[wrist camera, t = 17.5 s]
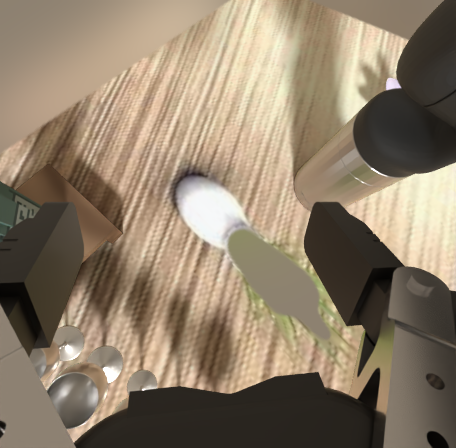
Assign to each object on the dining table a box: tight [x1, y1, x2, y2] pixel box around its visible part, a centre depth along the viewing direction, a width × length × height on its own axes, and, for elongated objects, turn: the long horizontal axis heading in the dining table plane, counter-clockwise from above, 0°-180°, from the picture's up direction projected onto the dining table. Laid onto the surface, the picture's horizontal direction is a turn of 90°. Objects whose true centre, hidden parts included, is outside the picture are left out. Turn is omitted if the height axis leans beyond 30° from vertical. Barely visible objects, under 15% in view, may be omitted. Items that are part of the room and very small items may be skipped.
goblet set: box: [29, 326, 157, 429], centre depth 34 cm, size 28×6×13 cm, turn 60°
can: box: [0, 181, 41, 242], centre depth 30 cm, size 6×6×15 cm
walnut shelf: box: [16, 164, 123, 263], centre depth 40 cm, size 14×12×5 cm
